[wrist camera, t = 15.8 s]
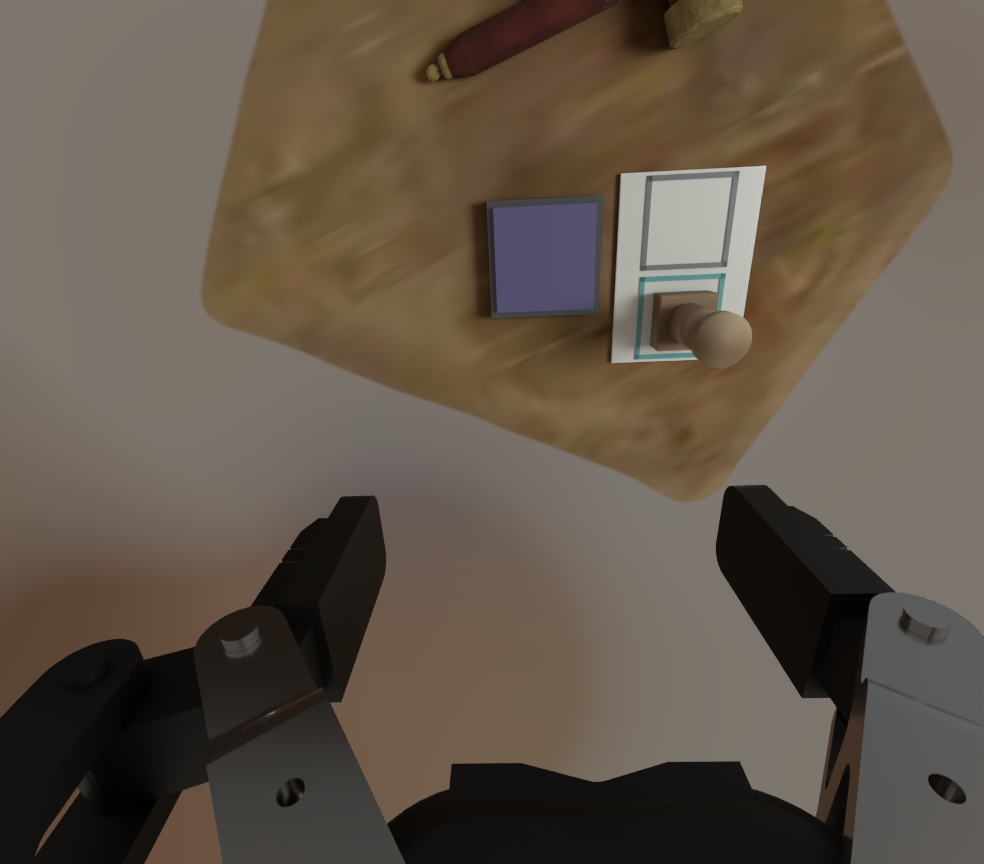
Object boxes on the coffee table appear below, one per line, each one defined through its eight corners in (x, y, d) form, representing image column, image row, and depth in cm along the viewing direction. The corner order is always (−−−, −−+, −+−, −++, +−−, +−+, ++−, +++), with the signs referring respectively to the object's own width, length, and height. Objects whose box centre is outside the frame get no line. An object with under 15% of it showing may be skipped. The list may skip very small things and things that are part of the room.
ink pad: (486, 201, 39) (486, 201, 37) (600, 196, 38) (604, 195, 37) (492, 316, 42) (491, 319, 41) (595, 311, 42) (599, 314, 40)
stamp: (653, 292, 41) (693, 309, 32) (708, 290, 41) (762, 306, 32) (650, 345, 42) (686, 374, 34) (701, 343, 42) (751, 371, 34)
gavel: (448, 145, 35) (387, -21, 31) (458, 153, 39) (405, 8, 35) (755, -1, 30) (723, -215, 26) (728, 26, 34) (697, -156, 31)
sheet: (620, 174, 38) (621, 173, 37) (764, 166, 37) (766, 165, 37) (610, 362, 43) (611, 363, 43) (735, 357, 43) (737, 358, 43)
